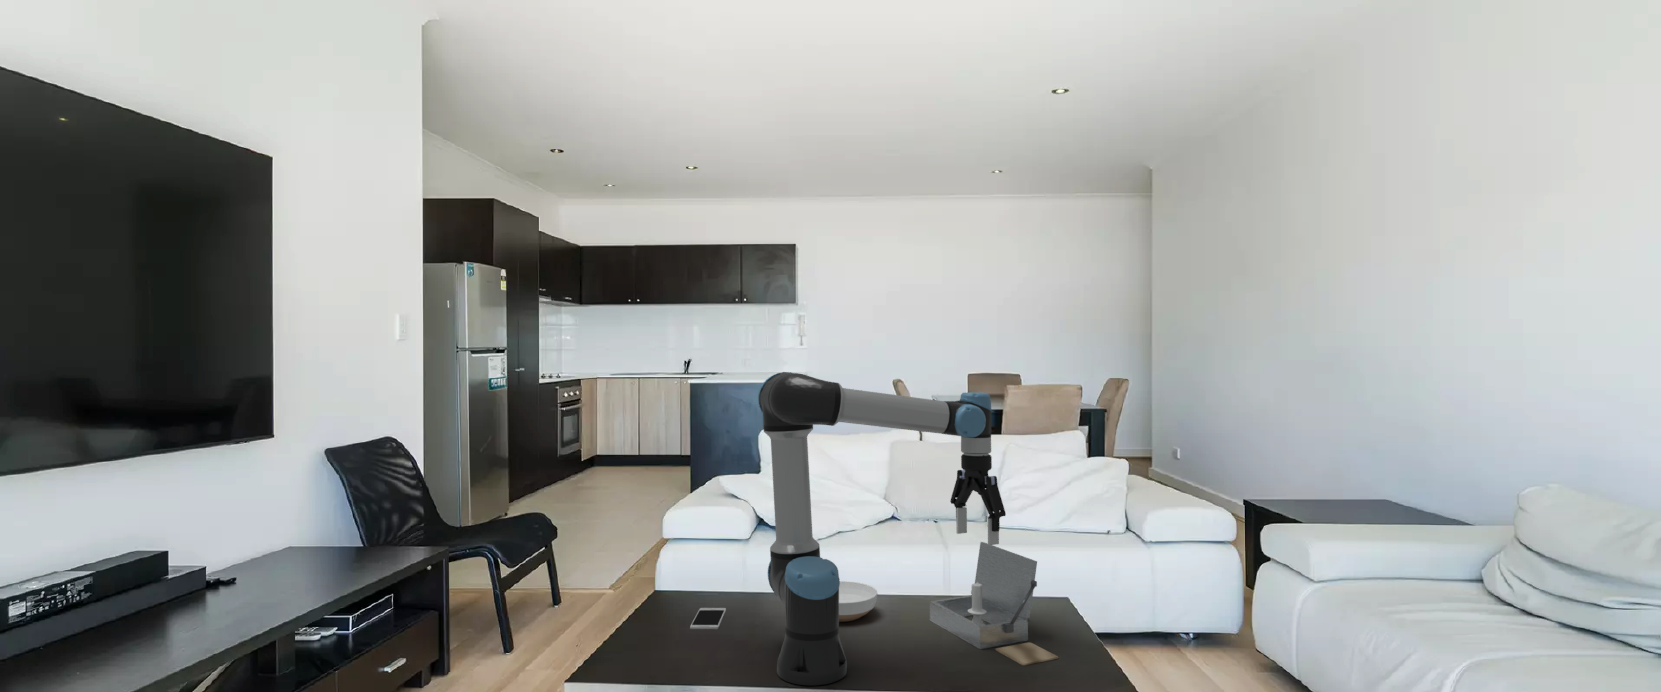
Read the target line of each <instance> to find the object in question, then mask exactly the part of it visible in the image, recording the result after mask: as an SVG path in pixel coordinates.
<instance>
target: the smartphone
mask: <svg viewBox="0 0 1661 692" xmlns="http://www.w3.org/2000/svg"><path fill="white" fill-rule="evenodd" d="M726 611H727V608H726V607H700V608H699V609H698V611H697V613H696V615H695V617H694V619H693V620H692V622H691V624H690V626H689V629H690V630H718V629H719V627H720V625H721V623H722V621H723V618H724V615H725V614H726Z"/></svg>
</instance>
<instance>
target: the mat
mask: <svg viewBox="0 0 1661 692" xmlns="http://www.w3.org/2000/svg"><path fill="white" fill-rule="evenodd" d="M995 651H996V652H997V653H1000V654H1001V655H1003V656H1005V657H1007V658H1008V659H1011V660H1012V661H1014V662H1016V663H1018V664H1019V665H1021V666H1028V665H1032V664H1037V663H1042V662H1047V661H1053V660H1058V659H1059V656H1058V655H1056V654H1054V653H1052V652H1050V651H1048V650H1046V649H1045V648H1042V647H1040V646H1038V645H1036V644H1034V643H1033V642H1030V641H1029V642H1024V643H1023V642H1022V643H1018V644H1017V643H1016V644H1014V645H1013V644H1012V645H1009V646H1008V645H1007V646H1002V647H997V648H995Z"/></svg>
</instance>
